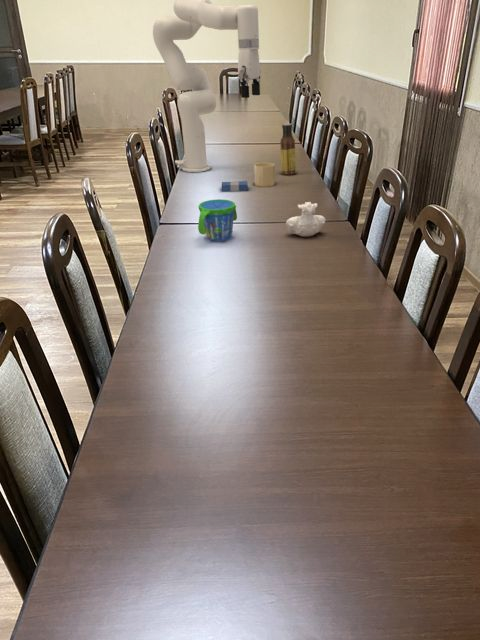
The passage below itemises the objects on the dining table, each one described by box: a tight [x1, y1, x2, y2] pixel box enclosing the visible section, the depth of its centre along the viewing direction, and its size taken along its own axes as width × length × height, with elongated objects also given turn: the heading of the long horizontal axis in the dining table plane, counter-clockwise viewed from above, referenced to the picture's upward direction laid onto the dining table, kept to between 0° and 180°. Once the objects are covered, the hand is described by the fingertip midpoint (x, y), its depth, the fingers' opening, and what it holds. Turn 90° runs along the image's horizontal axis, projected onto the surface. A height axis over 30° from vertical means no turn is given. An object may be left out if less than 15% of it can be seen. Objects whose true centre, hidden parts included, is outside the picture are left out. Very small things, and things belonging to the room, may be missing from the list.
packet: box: [221, 180, 249, 193], centre depth 208 cm, size 10×6×2 cm, turn 93°
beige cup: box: [253, 162, 276, 188], centre depth 213 cm, size 8×8×8 cm
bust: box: [285, 201, 326, 238], centre depth 158 cm, size 12×8×11 cm
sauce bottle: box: [279, 123, 297, 176], centre depth 225 cm, size 7×6×20 cm
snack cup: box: [197, 198, 238, 242], centre depth 157 cm, size 16×10×10 cm
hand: (250, 96), depth 205 cm, fingers open, 9 cm apart
